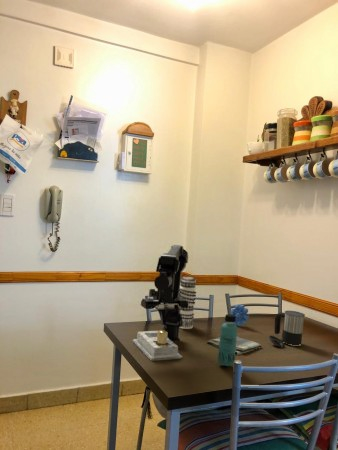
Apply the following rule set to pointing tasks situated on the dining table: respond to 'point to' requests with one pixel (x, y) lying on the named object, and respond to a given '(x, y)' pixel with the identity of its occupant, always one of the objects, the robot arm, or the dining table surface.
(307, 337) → the dining table surface
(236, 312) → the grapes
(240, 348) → the dish towel
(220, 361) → the beverage bottle
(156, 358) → the aluminium jig
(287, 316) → the milk frother
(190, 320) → the leaning tower model
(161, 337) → the solid brass peg
